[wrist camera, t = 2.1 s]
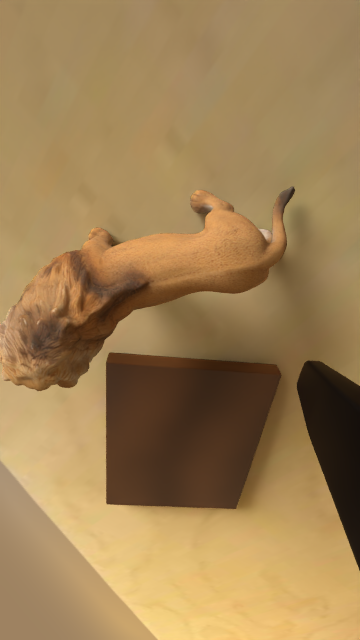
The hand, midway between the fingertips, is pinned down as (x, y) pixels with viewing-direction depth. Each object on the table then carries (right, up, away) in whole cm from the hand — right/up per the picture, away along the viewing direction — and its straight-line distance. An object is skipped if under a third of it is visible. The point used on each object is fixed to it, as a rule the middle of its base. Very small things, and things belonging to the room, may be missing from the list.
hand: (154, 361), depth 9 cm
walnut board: (+1, -8, +17) cm, 19 cm away
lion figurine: (0, +5, +10) cm, 11 cm away
